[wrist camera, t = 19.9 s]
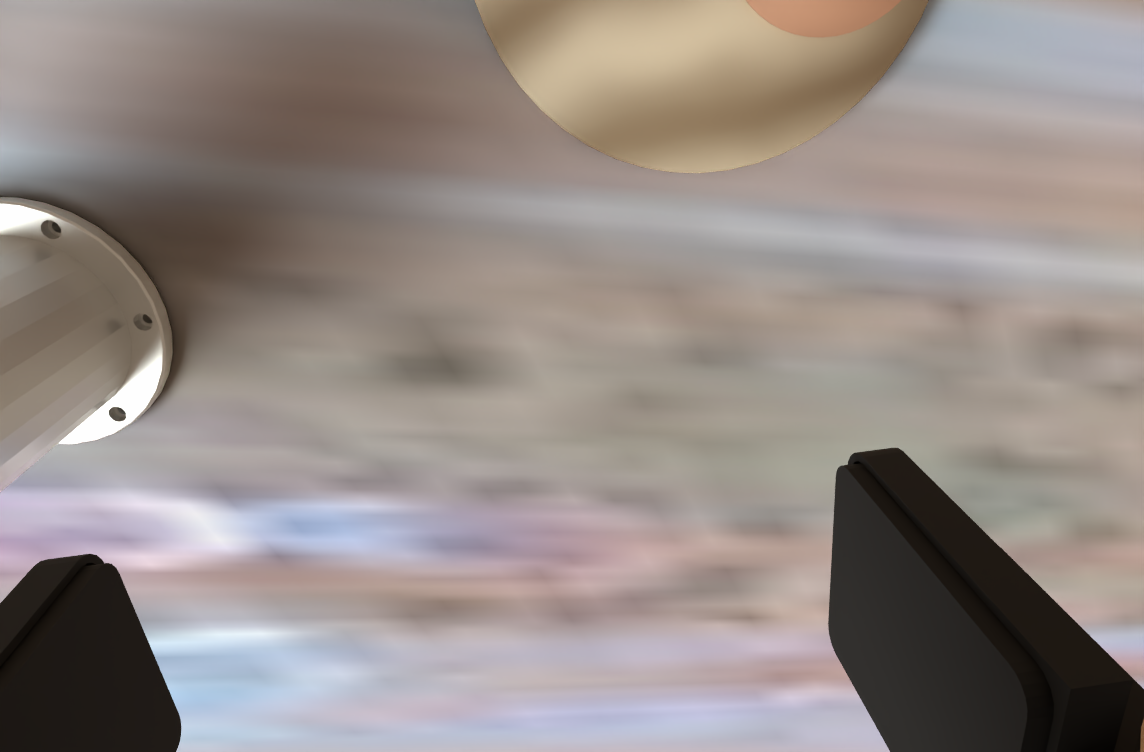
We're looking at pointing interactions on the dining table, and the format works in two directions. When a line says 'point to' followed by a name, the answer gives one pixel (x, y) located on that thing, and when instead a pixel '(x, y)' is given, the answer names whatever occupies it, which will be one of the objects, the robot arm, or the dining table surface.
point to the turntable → (697, 71)
